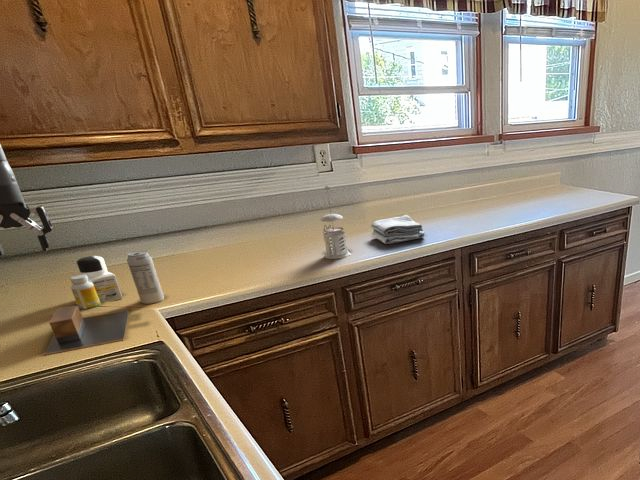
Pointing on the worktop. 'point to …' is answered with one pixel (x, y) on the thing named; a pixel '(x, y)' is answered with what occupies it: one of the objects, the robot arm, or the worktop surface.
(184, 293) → the worktop surface
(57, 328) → the eraser
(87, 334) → the board
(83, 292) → the supplement bottle
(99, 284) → the container
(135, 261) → the energy drink can
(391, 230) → the towel
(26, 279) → the worktop surface
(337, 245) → the french press
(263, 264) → the worktop surface
